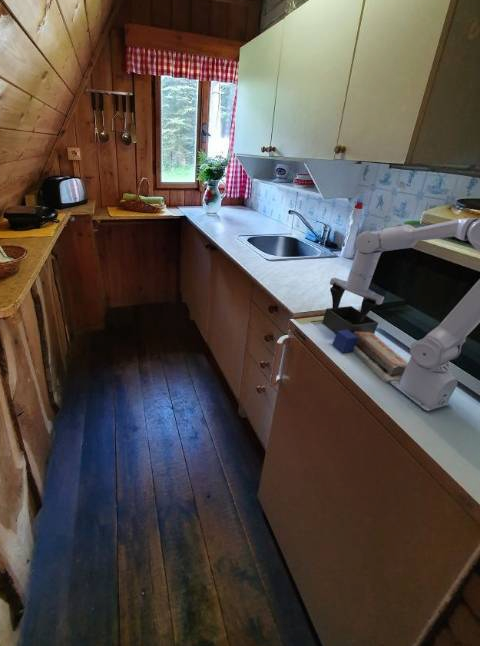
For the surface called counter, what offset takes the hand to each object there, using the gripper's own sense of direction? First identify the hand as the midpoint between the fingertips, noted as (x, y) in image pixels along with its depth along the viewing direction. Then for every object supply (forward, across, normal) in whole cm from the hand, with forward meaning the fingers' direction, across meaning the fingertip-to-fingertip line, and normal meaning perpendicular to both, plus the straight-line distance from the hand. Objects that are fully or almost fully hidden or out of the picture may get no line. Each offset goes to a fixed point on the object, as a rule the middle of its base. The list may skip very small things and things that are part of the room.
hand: (346, 315), depth 91 cm
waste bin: (+9, +2, -9) cm, 13 cm away
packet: (+9, -3, +3) cm, 10 cm away
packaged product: (+10, -11, -1) cm, 15 cm away
